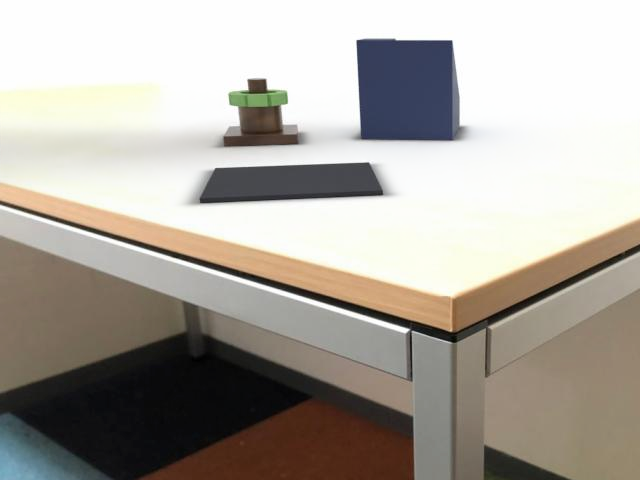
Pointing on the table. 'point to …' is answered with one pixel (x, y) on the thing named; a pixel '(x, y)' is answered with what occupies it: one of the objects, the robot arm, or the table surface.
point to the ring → (258, 98)
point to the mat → (291, 182)
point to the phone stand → (407, 89)
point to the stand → (260, 123)
